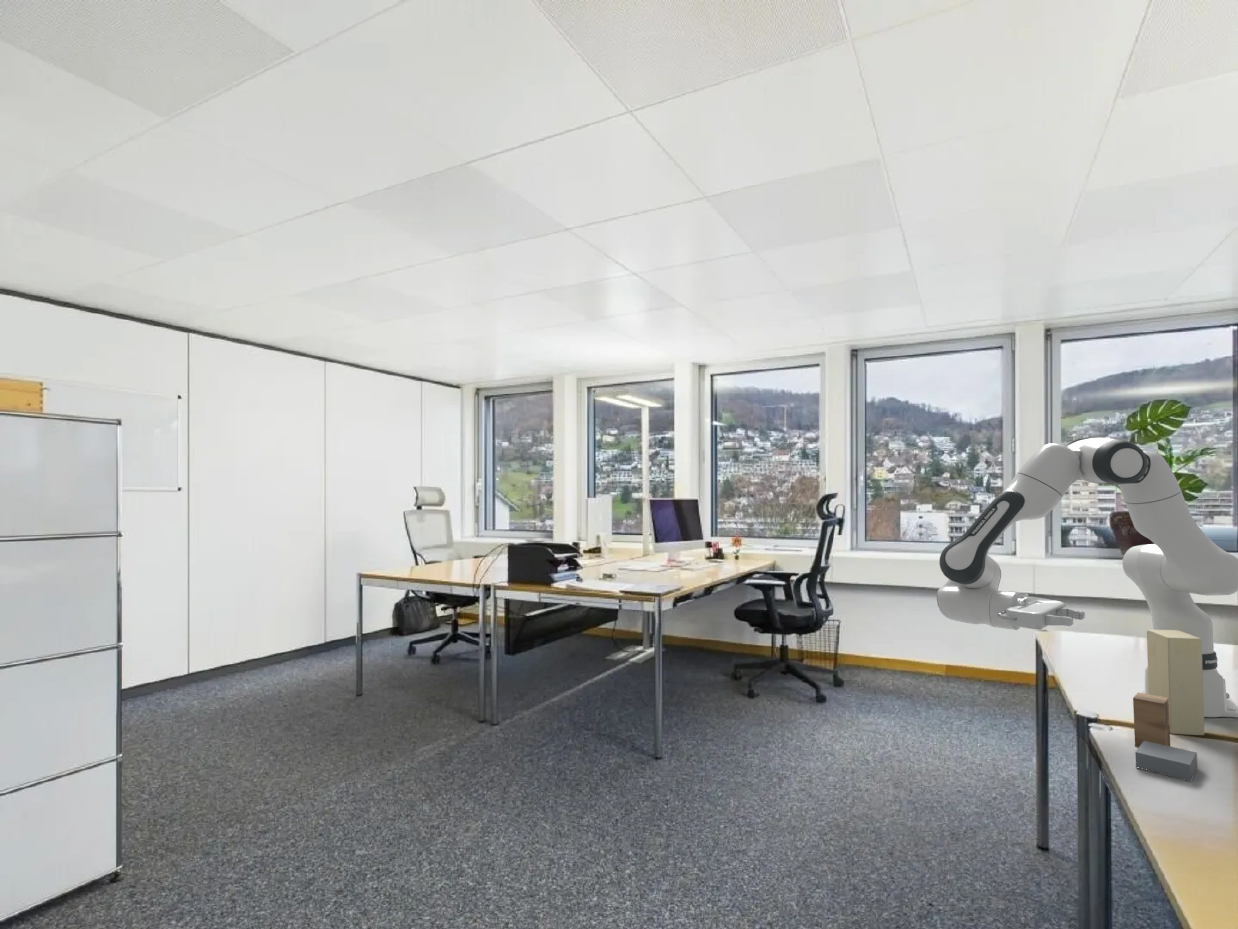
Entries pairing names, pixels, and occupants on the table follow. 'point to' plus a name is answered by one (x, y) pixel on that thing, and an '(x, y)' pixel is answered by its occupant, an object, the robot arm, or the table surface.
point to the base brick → (1166, 760)
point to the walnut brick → (1151, 719)
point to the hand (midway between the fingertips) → (1078, 618)
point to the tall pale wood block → (1177, 678)
